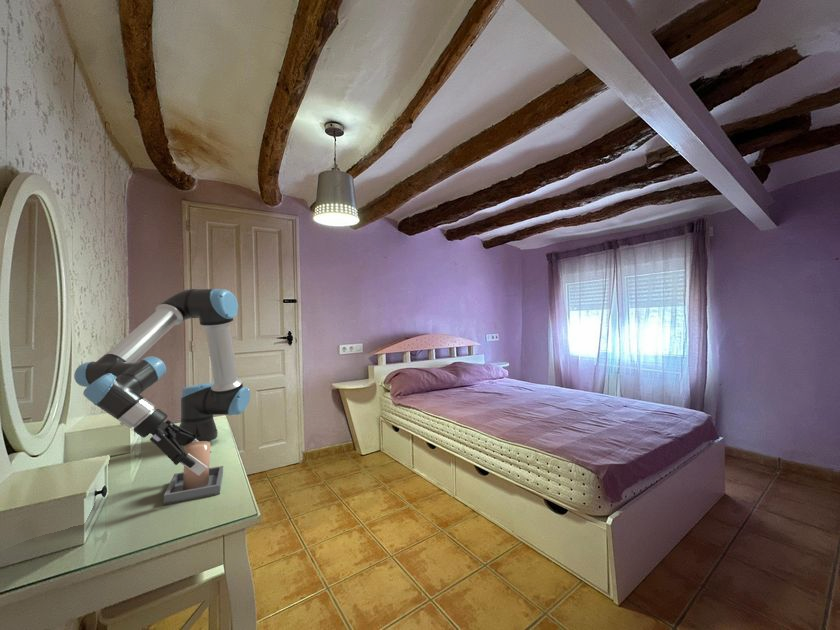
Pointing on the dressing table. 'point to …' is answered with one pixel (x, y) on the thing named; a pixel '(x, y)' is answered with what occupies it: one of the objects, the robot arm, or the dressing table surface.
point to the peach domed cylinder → (203, 455)
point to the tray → (179, 495)
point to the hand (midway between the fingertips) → (206, 462)
